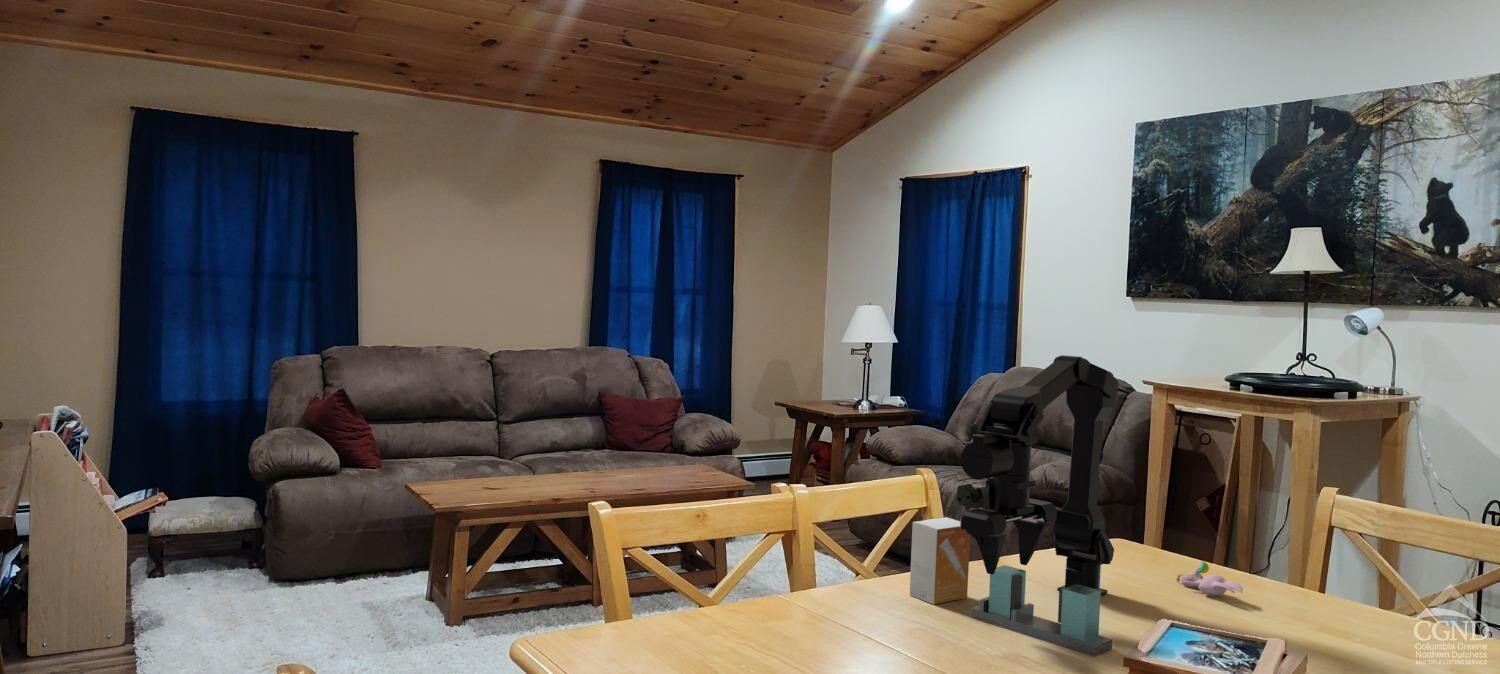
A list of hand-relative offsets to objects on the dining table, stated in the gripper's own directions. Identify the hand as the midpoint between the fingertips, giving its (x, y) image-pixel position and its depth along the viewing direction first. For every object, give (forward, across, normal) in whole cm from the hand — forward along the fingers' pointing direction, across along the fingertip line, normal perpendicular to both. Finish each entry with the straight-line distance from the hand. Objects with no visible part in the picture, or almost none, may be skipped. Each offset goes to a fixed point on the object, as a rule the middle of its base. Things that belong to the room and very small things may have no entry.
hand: (1007, 569), depth 163 cm
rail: (+9, 0, +6) cm, 11 cm away
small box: (+9, -2, -15) cm, 18 cm away
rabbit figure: (+9, -43, +13) cm, 46 cm away
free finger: (+7, 0, 0) cm, 7 cm away
